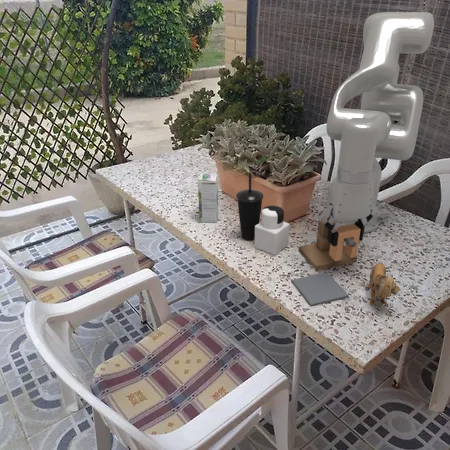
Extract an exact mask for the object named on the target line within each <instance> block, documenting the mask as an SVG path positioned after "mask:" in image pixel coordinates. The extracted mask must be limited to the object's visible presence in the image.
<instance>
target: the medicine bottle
mask: <svg viewBox="0 0 450 450" xmlns="http://www.w3.org/2000/svg"><path fill="white" fill-rule="evenodd" d="M284 217H285V210H284V208H282V207H280V206H278V205H267V206H264V207H263V208H261V221H259V224H257V225H256V226H255V240H254V248H256V249H258V250H261V251H264V252H265V253H267V254H271V255H273V256H276V255H278V253H280V252H281V251H282V250H284V249H285V248H286V247H288V245H289V239H290V225H291V224H290V223H289V222H286V221H284Z"/></svg>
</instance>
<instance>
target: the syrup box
mask: <svg viewBox="0 0 450 450" xmlns="http://www.w3.org/2000/svg"><path fill="white" fill-rule="evenodd" d="M218 175H219V174H217V173H209V172H208V173H199V176H198V181H197V189H198V190H197V191H198V196H197V197H198V198H197V199H198V218H199V219H198V220H199V221H198V222H199V223H205V224H206V223H218V217H219V188H218V187H219V183H218V178H219V177H218Z"/></svg>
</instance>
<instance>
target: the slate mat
mask: <svg viewBox="0 0 450 450" xmlns="http://www.w3.org/2000/svg"><path fill="white" fill-rule="evenodd" d="M291 283H292V284H293V286H295V288H296V289H297V291H298V293H300V295H301V297H303V299H304V300H305V301H306V302H307V303H308V305H309V306H310V307H315V306H318V305H319V306H320V305H323V304H326V303H331V302H335V301H340V300H343V299H347V298H349V297H350V294H348V292H347V291H346V290H345V289H344V288H343V287H342V286H341V285H340V284H339V283H338V282H337V281H336V280H335V279H334V278H333V277H332V275H331V274H330V273H329V272H328V271H324V272H320V273H316V274H311V275H306V276H303V277H299V278H298V277H297V278H295V279H291Z"/></svg>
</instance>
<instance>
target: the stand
mask: <svg viewBox="0 0 450 450" xmlns="http://www.w3.org/2000/svg"><path fill="white" fill-rule="evenodd" d="M323 212H324V211H323ZM323 212H319V214H318V217H319V216H320V215H321V214H322V213H323ZM330 217H331V216H329V217H328V218H327V221H329V219H330ZM334 223H335V222H334ZM334 223H333V225H334ZM333 225H332V226H333ZM327 235H328V228H327V227H326V226H325V225H324V224H323V223H322V222H321V221H320V220H319V219H318V223H317V232H316V242H314V243H310V244H305V245H301V246H298V253H300V255H301V256H302V257H303V258H304V259H305V260H306V261H307V263H309V265H310V266H311V267H312V268H313V269H314V270H315V271H316V272H318V271H323V270H326V269H331V268H336V267H339V266H344V265H349V264H353V263H357V260H358V259H357V258H358V256H356V257H352V258H350V257H349V256H348V255H347V254H346V253H345V252H344V250H345V244H343V250H342V257H341V260H339V261H335V260H334V259H333V258H332V257H331V256H330V255H329V252H330V243H329V242H328V240H327ZM344 243H347V244H348V245H349V246H350V247H352V248H353V247H355V246H356V242H355V241H354V240H352V239H351V238H346V239H344Z"/></svg>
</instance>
